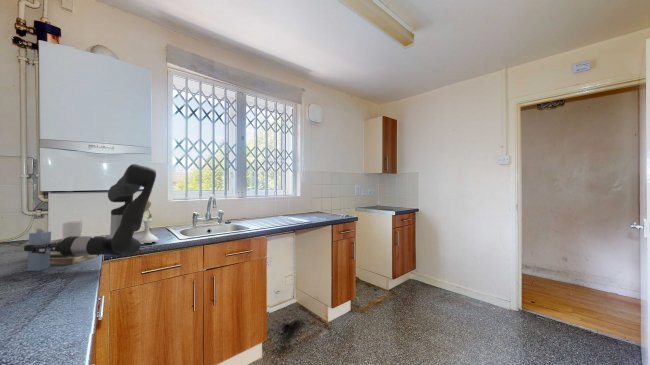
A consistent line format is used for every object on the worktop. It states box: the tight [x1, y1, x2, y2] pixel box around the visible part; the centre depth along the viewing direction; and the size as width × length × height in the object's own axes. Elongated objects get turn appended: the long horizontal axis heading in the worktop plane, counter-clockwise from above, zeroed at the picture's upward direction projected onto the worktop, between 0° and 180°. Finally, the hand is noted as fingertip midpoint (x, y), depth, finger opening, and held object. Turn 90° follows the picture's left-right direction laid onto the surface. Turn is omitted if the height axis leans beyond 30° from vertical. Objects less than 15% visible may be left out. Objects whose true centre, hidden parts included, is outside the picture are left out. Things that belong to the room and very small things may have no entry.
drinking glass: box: [62, 220, 83, 239], centre depth 124 cm, size 7×7×15 cm
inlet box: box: [50, 237, 100, 266], centre depth 110 cm, size 14×12×9 cm
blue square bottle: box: [26, 227, 52, 272], centre depth 97 cm, size 4×4×16 cm
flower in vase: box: [136, 200, 159, 245], centre depth 146 cm, size 13×11×25 cm
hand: (31, 246), depth 97 cm, fingers closed on blue square bottle, 4 cm apart
